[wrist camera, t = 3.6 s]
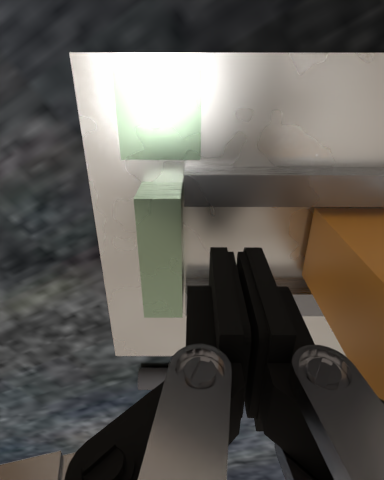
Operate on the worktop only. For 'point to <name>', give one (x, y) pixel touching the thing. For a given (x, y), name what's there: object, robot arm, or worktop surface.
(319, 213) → the lever
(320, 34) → the worktop surface
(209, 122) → the panel
